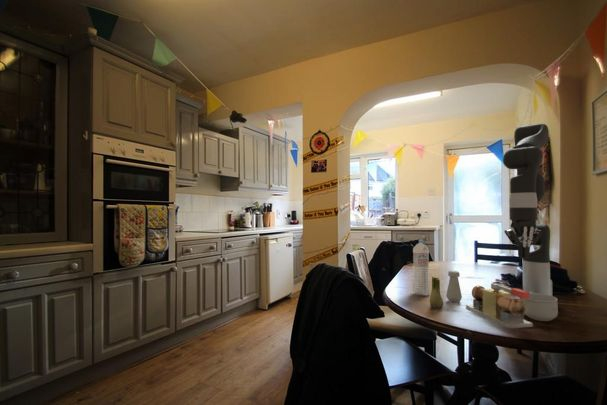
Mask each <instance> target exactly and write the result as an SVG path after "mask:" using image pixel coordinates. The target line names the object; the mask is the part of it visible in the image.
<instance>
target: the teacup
mask: <svg viewBox="0 0 607 405" xmlns="http://www.w3.org/2000/svg"><path fill="white" fill-rule="evenodd" d="M519 299H520V300H522V301H523V302H524V303H525V312H524V313H523V315H525V316H526V317H528V318H529V319H531V320H534V321H539V322H550V321H552V320H554V319H556V318H557V317H558V314H559V310H558V308H559V307H558V306H559V305H558V301H559V300H558V298H557V297H556V296H553V295H552V296H550V295H546V294H540V293H533V292H529V298H528V299H523V298H520V297H519Z"/></svg>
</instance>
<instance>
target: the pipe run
mask: <svg viewBox="0 0 607 405" xmlns="http://www.w3.org/2000/svg"><path fill="white" fill-rule="evenodd" d="M471 296H472V298H473V300H472V304H465V308H466V309H467V310H469V311H471V312H473V311H474V313H475V314H478V315H480V316H482V317H485V318H487V319H488V320H490V321H493V322H495V323H497V324H499V325H501V326H504V327H506V328H507V329H519V328H520V329H522V328H534V323H533V322H531V321H528V320H526V319H524V312H525V303H524V302H523V301H522V300H520V298H518V297H517V298H516V297H515V298H511V296H512V295H511V292H508V291H505V290H495V289H491V288H485V287H484V286H481V285H476V286H474V287H473V288H472V289H471Z"/></svg>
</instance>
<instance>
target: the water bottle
mask: <svg viewBox="0 0 607 405" xmlns="http://www.w3.org/2000/svg"><path fill="white" fill-rule="evenodd" d="M423 242H424V239H418V243H416V244H415V246H414V247H412V253H413V254H412V255H413V256H412V257H413V258H412V273H413V274H412V290H413V291H412V293H413V294H414V295H415V296H419V297H428V296H429V294H430V279H429V278H430V266H429V262H430V261H429V260H430V258H429V257H430V256H429V253H430V250H429V248H428V246H427V245H426V244H424V243H423Z"/></svg>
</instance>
